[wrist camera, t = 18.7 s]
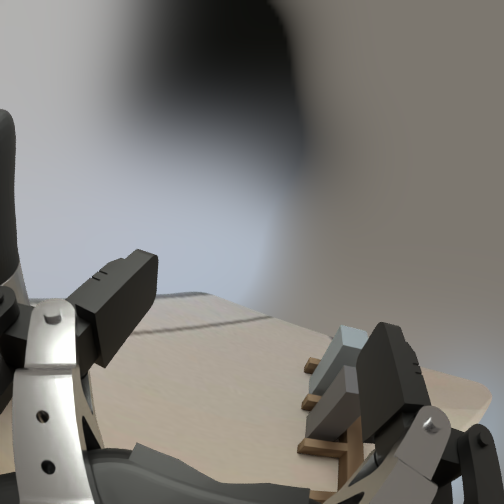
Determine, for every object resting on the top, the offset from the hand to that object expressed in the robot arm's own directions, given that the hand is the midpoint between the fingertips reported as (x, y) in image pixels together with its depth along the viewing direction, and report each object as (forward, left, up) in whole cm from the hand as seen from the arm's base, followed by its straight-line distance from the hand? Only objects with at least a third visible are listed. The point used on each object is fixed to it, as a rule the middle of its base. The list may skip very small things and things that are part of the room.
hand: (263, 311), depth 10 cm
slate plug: (+14, +21, -28) cm, 37 cm away
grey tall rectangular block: (+14, +13, -28) cm, 34 cm away
